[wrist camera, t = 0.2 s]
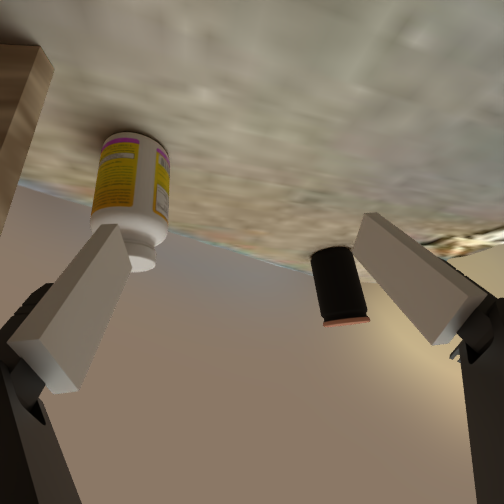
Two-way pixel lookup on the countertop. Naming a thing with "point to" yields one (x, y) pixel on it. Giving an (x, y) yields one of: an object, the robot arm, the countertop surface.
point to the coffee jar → (338, 287)
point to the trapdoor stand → (19, 112)
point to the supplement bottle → (133, 194)
